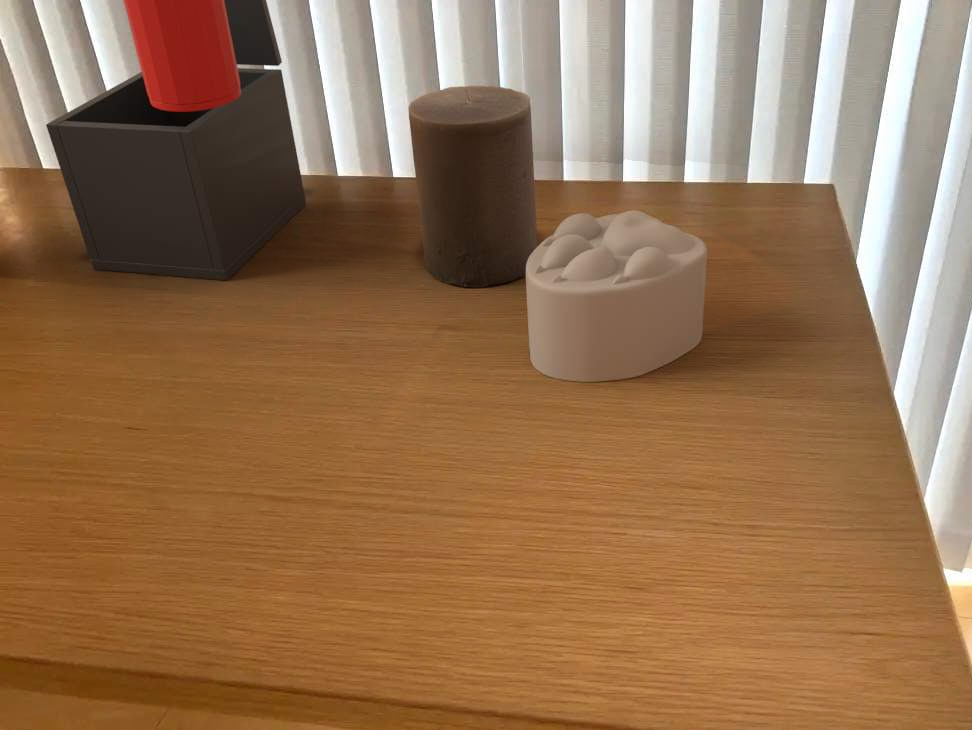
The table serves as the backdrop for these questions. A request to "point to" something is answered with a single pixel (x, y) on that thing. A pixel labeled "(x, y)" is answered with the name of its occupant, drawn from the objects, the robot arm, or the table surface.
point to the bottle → (184, 53)
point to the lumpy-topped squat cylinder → (614, 297)
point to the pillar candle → (475, 183)
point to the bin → (180, 178)
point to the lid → (252, 33)
